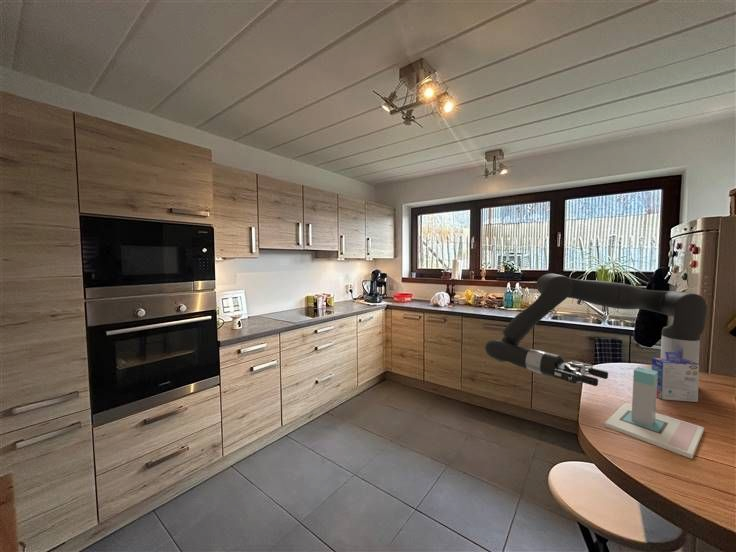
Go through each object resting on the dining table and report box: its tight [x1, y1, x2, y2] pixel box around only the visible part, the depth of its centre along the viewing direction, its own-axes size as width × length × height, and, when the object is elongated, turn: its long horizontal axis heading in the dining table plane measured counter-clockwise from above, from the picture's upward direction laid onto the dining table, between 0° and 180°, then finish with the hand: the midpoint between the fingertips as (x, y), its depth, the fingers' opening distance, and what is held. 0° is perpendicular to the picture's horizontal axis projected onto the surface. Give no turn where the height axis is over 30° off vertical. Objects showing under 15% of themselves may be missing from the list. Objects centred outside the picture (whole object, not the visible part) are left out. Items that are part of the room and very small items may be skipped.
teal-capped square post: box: [631, 366, 658, 427], centre depth 79 cm, size 4×4×14 cm
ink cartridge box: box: [651, 352, 700, 403], centre depth 94 cm, size 10×6×14 cm, turn 78°
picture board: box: [604, 402, 705, 459], centre depth 78 cm, size 18×16×1 cm
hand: (602, 379), depth 86 cm, fingers open, 8 cm apart
